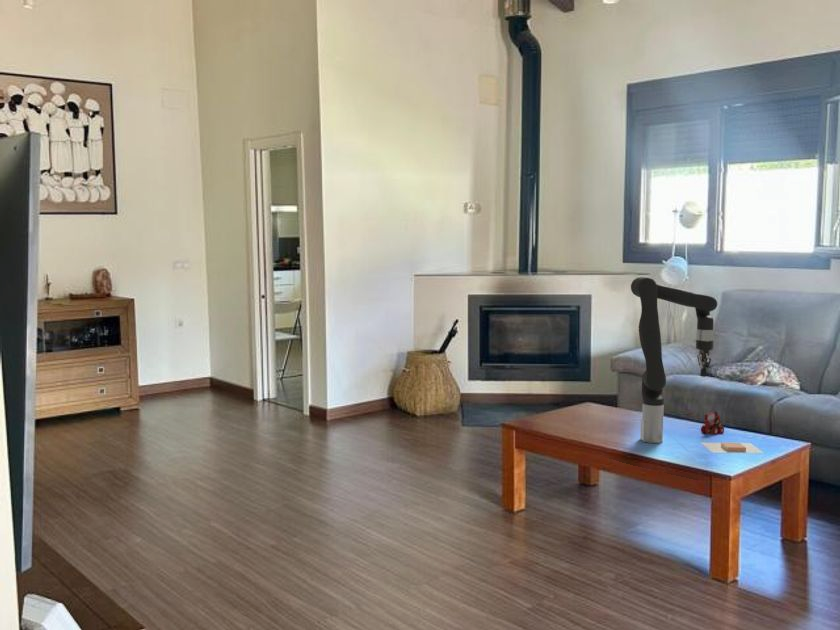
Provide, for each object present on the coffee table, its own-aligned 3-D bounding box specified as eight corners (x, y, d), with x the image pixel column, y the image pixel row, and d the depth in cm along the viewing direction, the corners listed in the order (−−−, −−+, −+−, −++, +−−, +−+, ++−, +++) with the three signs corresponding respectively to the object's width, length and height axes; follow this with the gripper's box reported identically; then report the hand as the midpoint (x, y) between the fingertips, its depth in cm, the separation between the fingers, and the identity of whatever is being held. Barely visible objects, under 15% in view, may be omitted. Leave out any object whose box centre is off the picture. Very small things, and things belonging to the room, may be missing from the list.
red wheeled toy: (726, 433, 374) (727, 411, 373) (711, 437, 366) (712, 415, 365) (713, 430, 379) (713, 409, 378) (698, 434, 371) (699, 412, 370)
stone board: (712, 454, 337) (712, 452, 337) (700, 444, 353) (700, 442, 353) (764, 455, 336) (764, 453, 336) (749, 445, 352) (750, 443, 352)
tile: (720, 446, 347) (727, 451, 339) (720, 442, 347) (727, 447, 339) (739, 446, 347) (745, 451, 339) (739, 442, 346) (746, 447, 338)
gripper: (692, 337, 367) (690, 373, 369) (701, 341, 354) (699, 378, 355) (708, 337, 367) (706, 373, 368) (717, 341, 353) (716, 379, 355)
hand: (703, 376), depth 362 cm, fingers closed
